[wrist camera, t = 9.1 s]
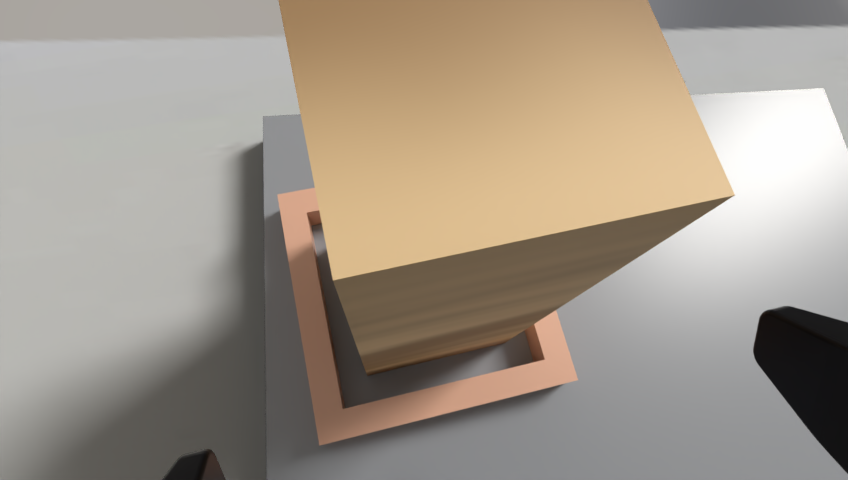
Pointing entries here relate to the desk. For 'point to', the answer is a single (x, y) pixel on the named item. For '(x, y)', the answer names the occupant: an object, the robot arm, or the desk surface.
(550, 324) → the socket collar
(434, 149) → the oak pillar
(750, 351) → the baseplate
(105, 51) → the desk surface
